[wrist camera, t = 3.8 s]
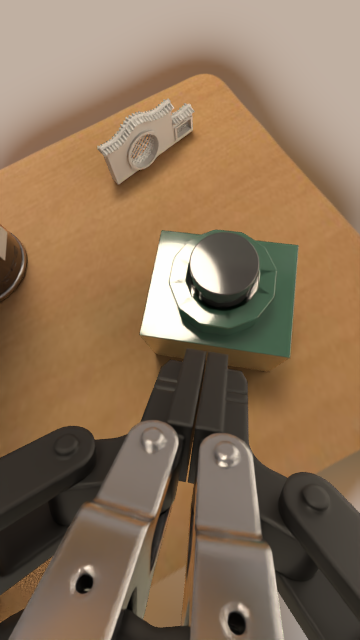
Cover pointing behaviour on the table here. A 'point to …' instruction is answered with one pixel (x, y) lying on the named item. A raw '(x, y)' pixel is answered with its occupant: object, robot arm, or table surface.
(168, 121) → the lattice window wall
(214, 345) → the dispenser
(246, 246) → the dark push button
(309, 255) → the table surface
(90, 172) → the table surface
